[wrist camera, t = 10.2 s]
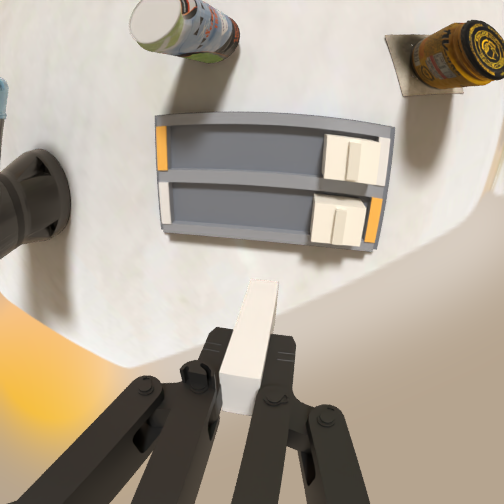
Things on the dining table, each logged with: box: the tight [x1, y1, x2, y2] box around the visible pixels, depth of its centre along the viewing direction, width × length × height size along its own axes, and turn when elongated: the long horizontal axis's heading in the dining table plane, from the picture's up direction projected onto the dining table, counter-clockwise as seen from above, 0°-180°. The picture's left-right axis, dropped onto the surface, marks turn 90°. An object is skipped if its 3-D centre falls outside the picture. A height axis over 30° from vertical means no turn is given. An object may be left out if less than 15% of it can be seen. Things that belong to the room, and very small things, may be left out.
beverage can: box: [129, 0, 240, 63], centre depth 20 cm, size 6×7×12 cm
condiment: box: [385, 20, 504, 96], centre depth 16 cm, size 7×8×12 cm
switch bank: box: [155, 112, 395, 252], centre depth 30 cm, size 26×14×2 cm, turn 89°
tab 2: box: [322, 134, 381, 185], centre depth 25 cm, size 5×4×4 cm
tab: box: [310, 193, 366, 247], centre depth 28 cm, size 5×4×4 cm
